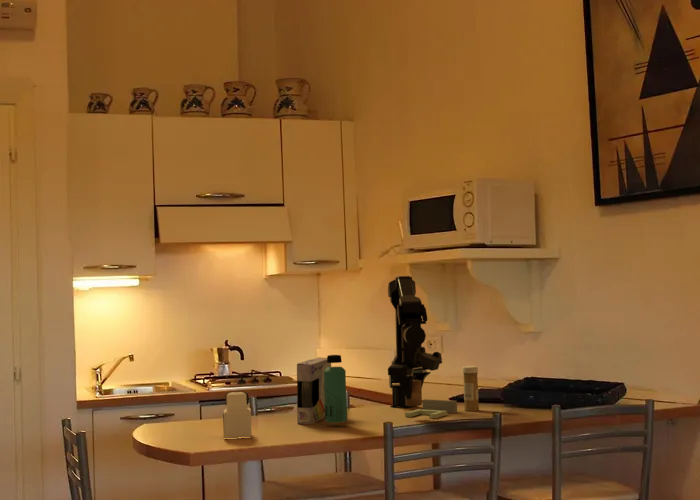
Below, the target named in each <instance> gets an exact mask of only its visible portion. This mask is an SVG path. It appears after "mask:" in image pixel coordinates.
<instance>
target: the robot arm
mask: <svg viewBox="0 0 700 500" xmlns="http://www.w3.org/2000/svg"><path fill="white" fill-rule="evenodd" d="M416 290H417V287H416V281H415V280H413V277H412V276H410V275H398V276H396V277H395V278H394V279H393V280H390V281H389V282H388V286H387V295H388V296H387V297H388V298H389V301H390V304H391V305H392V306H393V308H394V312H395V317H394V318H395V320H394V321H395V357H394V358H393V360H392V361H391V365H389V366H388V368H387V375H388V377H389V378H388V387H389V388H390V389H391V390H392V391H391V392H392V404H391V405H389V407H390V408H403V409H404V408H405V409H407V408H411V407H413V406H406V405H405V396H406V398H407V399H411V393H412V381H413V380H421V387H422V388H423V386H424V382H425V379H426V378H427V376H428V375H430V374H431V371H437V370H439V368H440V364H443V361H442V360H443V359H442V358H443V356H442V353H441V352H439V351H434V352H433V353H428V352H426V347H425V346H422V344H423V343H424V342H425V340H426V337H427V335H426V332H425V329H423V327H422V325H426V324H427V322H428V314H427V313H428V312H427V308H426V306H425V304H424V303H422V299H421V298H420V297H418V296H416V294H417V291H416ZM428 370H429V371H428Z"/></svg>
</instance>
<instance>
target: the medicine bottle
mask: <svg viewBox="0 0 700 500" xmlns="http://www.w3.org/2000/svg"><path fill="white" fill-rule="evenodd" d="M224 397H225V399H224V400H225V409H224V410H223V414H222V417H223V439H224V438H238V437H251V438H252V433H253V432H252V408H250V407H249V393H248V392H246V391H243V390H242V391H241V390H239V391H229V392H227V393H226V394H225V395H224Z"/></svg>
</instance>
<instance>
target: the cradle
mask: <svg viewBox="0 0 700 500" xmlns="http://www.w3.org/2000/svg"><path fill="white" fill-rule="evenodd" d="M419 415H426V416H428V418H429V419H433V418H435V419H438V418H441V417H444V416H448V413H447V411H440V410H423V408H422V409H420V408H417V409H414V410H411V411H410V410H409V411H405V412H404V417H405V418H413V417H415V416H419Z"/></svg>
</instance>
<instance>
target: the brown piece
mask: <svg viewBox="0 0 700 500" xmlns="http://www.w3.org/2000/svg"><path fill="white" fill-rule="evenodd" d="M422 390H423V386H422V387H421V380H413V381H412V393H411V399H407V398H406V396H405V405H406V406H412V407H420V406H423V396H422V395H423V393H422Z"/></svg>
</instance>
